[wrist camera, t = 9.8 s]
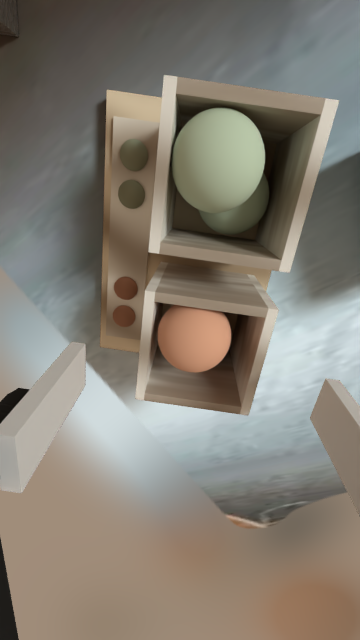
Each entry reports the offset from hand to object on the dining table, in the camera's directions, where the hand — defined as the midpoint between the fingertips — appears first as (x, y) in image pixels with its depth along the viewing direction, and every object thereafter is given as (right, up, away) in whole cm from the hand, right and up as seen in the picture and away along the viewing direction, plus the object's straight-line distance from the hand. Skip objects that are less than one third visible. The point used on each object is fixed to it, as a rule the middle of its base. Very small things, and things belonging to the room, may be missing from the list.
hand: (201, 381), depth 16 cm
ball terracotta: (0, +2, +3) cm, 4 cm away
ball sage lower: (+2, +12, +4) cm, 12 cm away
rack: (0, +9, +9) cm, 13 cm away
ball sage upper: (+1, +12, -1) cm, 12 cm away
